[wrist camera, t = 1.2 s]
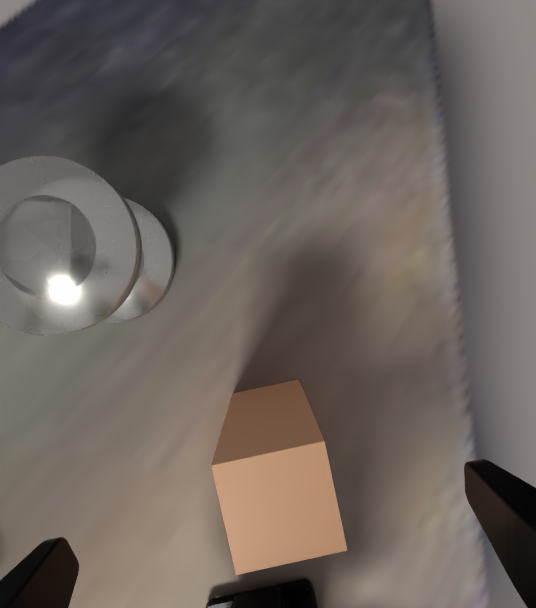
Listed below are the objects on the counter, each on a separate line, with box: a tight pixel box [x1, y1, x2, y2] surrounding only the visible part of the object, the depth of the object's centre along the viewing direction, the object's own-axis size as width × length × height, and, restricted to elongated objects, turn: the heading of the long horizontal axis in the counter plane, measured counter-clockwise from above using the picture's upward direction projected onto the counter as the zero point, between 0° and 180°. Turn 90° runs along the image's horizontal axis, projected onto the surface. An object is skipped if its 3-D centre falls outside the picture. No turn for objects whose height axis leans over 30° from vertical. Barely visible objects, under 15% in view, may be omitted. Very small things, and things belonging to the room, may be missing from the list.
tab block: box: [211, 379, 348, 575], centre depth 15 cm, size 4×4×8 cm
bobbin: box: [0, 156, 175, 335], centre depth 16 cm, size 7×7×6 cm
